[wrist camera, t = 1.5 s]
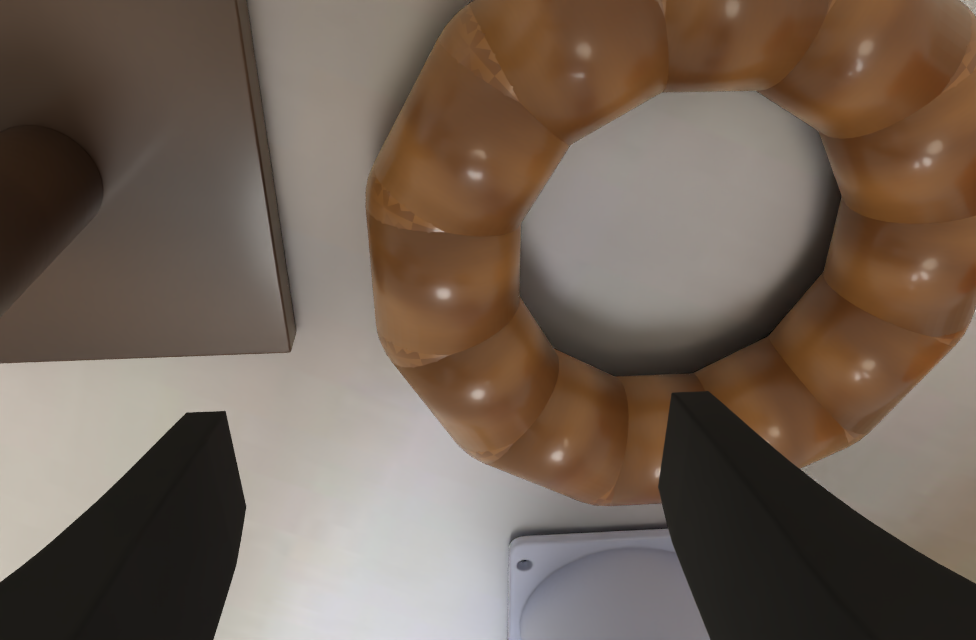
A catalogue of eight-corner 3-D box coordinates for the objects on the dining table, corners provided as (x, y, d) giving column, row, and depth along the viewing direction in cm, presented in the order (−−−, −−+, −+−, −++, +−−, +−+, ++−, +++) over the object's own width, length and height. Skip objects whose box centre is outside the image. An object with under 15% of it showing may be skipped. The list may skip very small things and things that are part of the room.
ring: (869, 436, 25) (931, 517, 22) (393, 457, 24) (388, 545, 21) (1037, -103, 17) (1171, -95, 14) (348, -98, 16) (329, -89, 13)
